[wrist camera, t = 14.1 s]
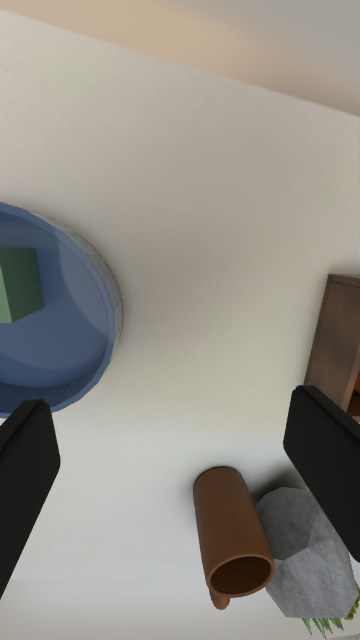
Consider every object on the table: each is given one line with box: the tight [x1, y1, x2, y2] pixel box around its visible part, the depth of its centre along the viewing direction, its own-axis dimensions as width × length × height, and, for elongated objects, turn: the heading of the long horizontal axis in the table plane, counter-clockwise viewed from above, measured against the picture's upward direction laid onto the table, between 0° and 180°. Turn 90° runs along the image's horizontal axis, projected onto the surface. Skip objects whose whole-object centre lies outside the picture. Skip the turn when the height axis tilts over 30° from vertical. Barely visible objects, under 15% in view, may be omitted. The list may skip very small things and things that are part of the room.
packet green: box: [0, 247, 44, 323], centre depth 18 cm, size 6×3×5 cm, turn 178°
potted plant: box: [255, 487, 360, 639], centre depth 28 cm, size 12×13×15 cm
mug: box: [193, 468, 275, 610], centre depth 28 cm, size 12×8×9 cm, turn 166°
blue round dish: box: [0, 202, 123, 419], centre depth 20 cm, size 18×18×4 cm
